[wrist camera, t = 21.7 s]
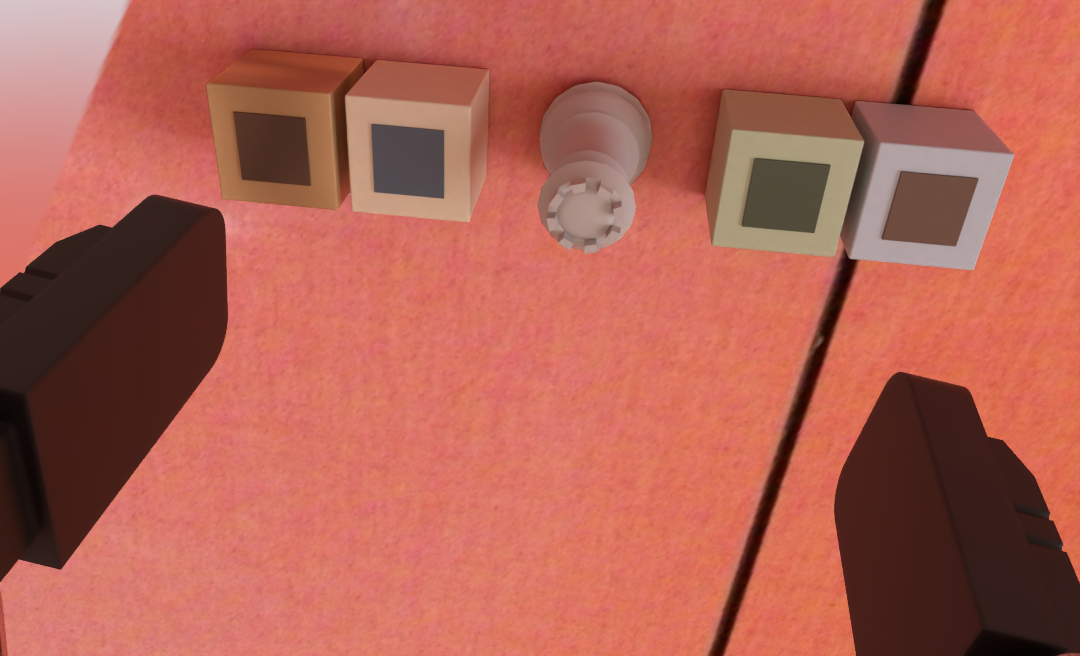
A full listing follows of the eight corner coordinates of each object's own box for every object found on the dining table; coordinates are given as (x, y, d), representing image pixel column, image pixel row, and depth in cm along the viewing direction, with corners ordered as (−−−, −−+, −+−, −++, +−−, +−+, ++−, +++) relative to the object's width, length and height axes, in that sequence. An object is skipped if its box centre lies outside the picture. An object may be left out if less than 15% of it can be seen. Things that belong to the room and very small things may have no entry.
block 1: (263, 155, 38) (220, 201, 34) (251, 48, 36) (203, 83, 32) (368, 165, 38) (337, 212, 34) (363, 57, 36) (329, 94, 32)
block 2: (380, 166, 38) (350, 213, 34) (376, 59, 36) (343, 96, 32) (487, 176, 38) (468, 224, 34) (490, 68, 35) (470, 107, 32)
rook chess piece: (676, 134, 36) (683, 222, 29) (595, 205, 38) (584, 302, 31) (597, 53, 35) (585, 125, 28) (517, 131, 37) (488, 216, 30)
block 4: (827, 207, 37) (848, 260, 33) (854, 99, 35) (880, 143, 31) (940, 218, 37) (975, 272, 33) (975, 110, 34) (1016, 155, 30)
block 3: (704, 196, 37) (711, 247, 33) (722, 88, 35) (731, 130, 31) (815, 206, 37) (835, 259, 33) (841, 98, 35) (865, 142, 31)
